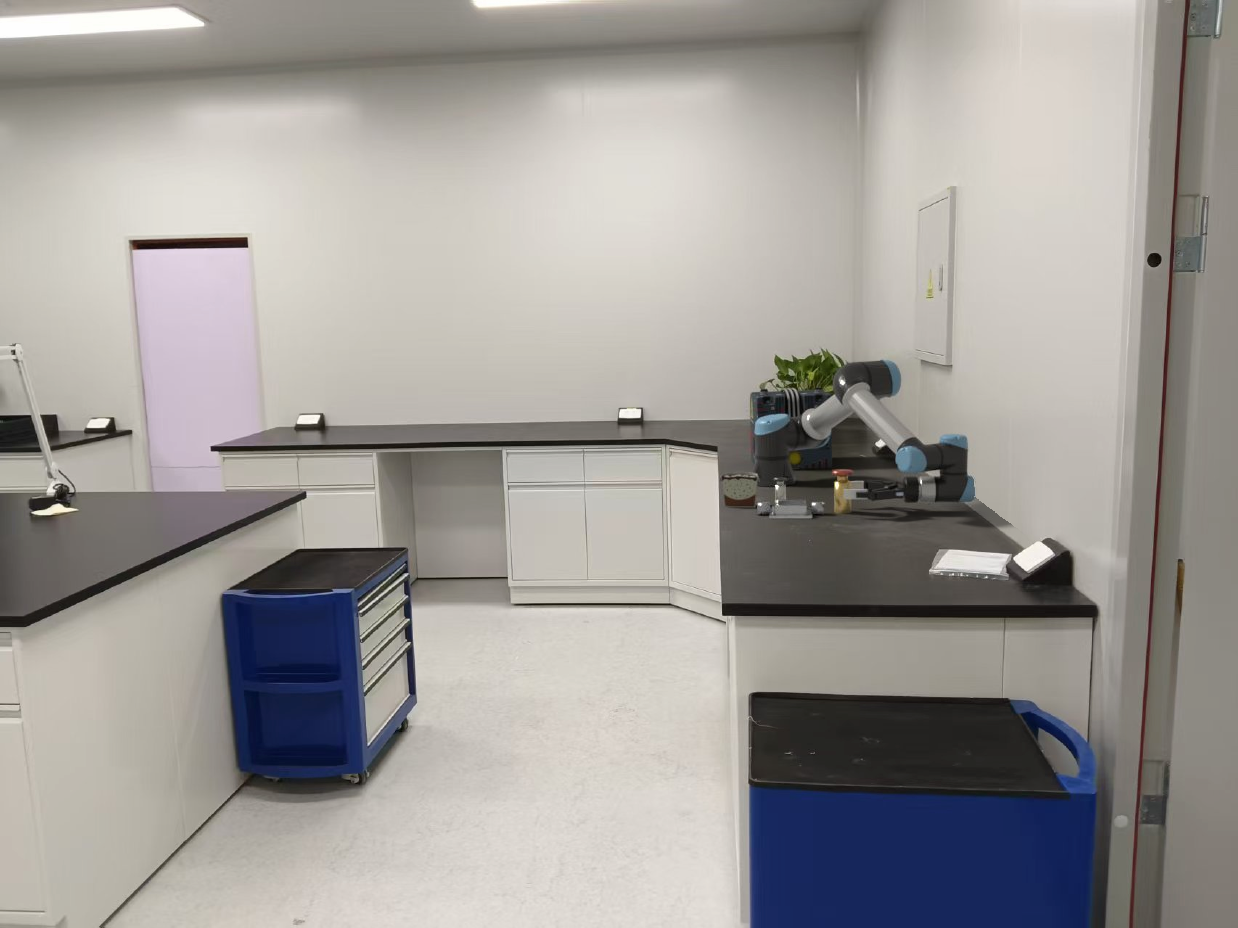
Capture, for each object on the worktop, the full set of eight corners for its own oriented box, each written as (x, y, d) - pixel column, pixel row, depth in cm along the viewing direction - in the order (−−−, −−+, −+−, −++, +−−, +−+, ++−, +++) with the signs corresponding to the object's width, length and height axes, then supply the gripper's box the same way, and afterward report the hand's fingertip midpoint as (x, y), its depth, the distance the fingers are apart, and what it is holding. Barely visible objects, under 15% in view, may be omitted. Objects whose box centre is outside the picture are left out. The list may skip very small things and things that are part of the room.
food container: (762, 503, 302) (762, 471, 301) (760, 507, 296) (759, 475, 295) (723, 502, 305) (722, 471, 304) (719, 506, 300) (719, 474, 298)
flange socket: (758, 510, 292) (757, 498, 292) (823, 509, 289) (823, 498, 288) (756, 518, 280) (756, 506, 280) (824, 518, 277) (824, 505, 277)
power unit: (750, 460, 392) (749, 385, 387) (819, 457, 391) (819, 383, 386) (758, 471, 364) (756, 390, 360) (832, 468, 363) (831, 388, 359)
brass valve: (831, 510, 288) (831, 469, 287) (852, 509, 287) (852, 469, 285) (832, 514, 283) (832, 472, 281) (853, 514, 281) (853, 472, 280)
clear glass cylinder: (774, 504, 300) (773, 476, 299) (787, 504, 299) (786, 476, 298) (773, 506, 296) (773, 479, 295) (787, 506, 295) (786, 478, 294)
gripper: (924, 511, 268) (845, 511, 272) (912, 494, 292) (840, 494, 296) (924, 484, 267) (845, 484, 271) (912, 469, 291) (840, 470, 295)
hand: (842, 490), depth 283 cm, fingers open, 13 cm apart
